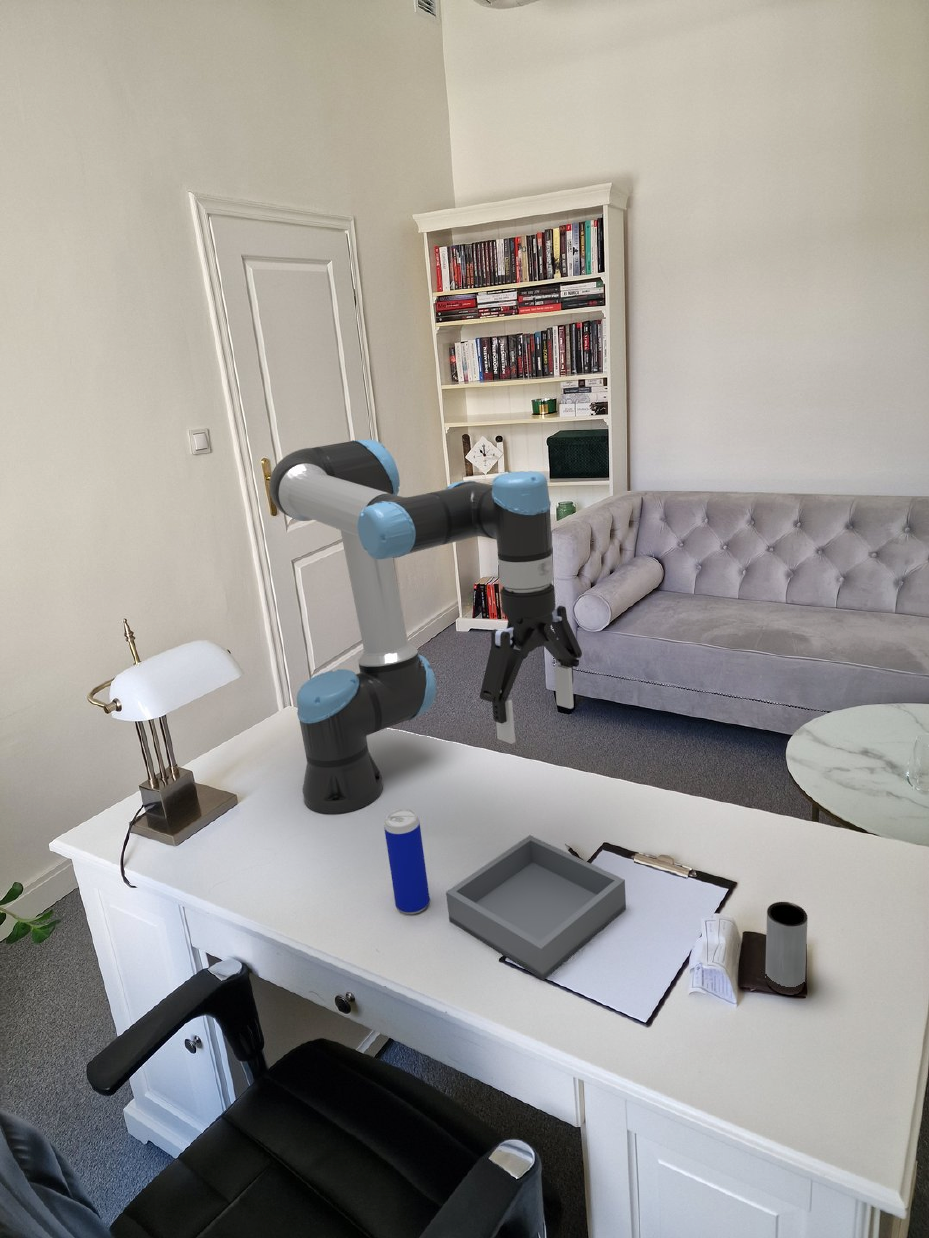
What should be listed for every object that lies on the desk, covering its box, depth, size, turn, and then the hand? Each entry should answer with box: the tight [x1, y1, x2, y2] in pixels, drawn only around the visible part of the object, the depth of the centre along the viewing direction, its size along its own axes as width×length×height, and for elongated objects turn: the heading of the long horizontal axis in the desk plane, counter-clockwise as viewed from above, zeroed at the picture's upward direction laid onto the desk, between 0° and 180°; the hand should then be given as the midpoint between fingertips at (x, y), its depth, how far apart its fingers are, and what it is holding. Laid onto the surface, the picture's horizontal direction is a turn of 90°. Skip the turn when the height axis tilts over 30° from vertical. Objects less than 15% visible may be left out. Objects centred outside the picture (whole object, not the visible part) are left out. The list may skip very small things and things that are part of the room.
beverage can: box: [383, 809, 430, 915], centre depth 119 cm, size 5×5×15 cm
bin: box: [445, 835, 627, 981], centre depth 115 cm, size 18×18×5 cm
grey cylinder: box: [765, 901, 809, 987], centre depth 98 cm, size 4×4×10 cm
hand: (536, 722), depth 119 cm, fingers open, 13 cm apart
